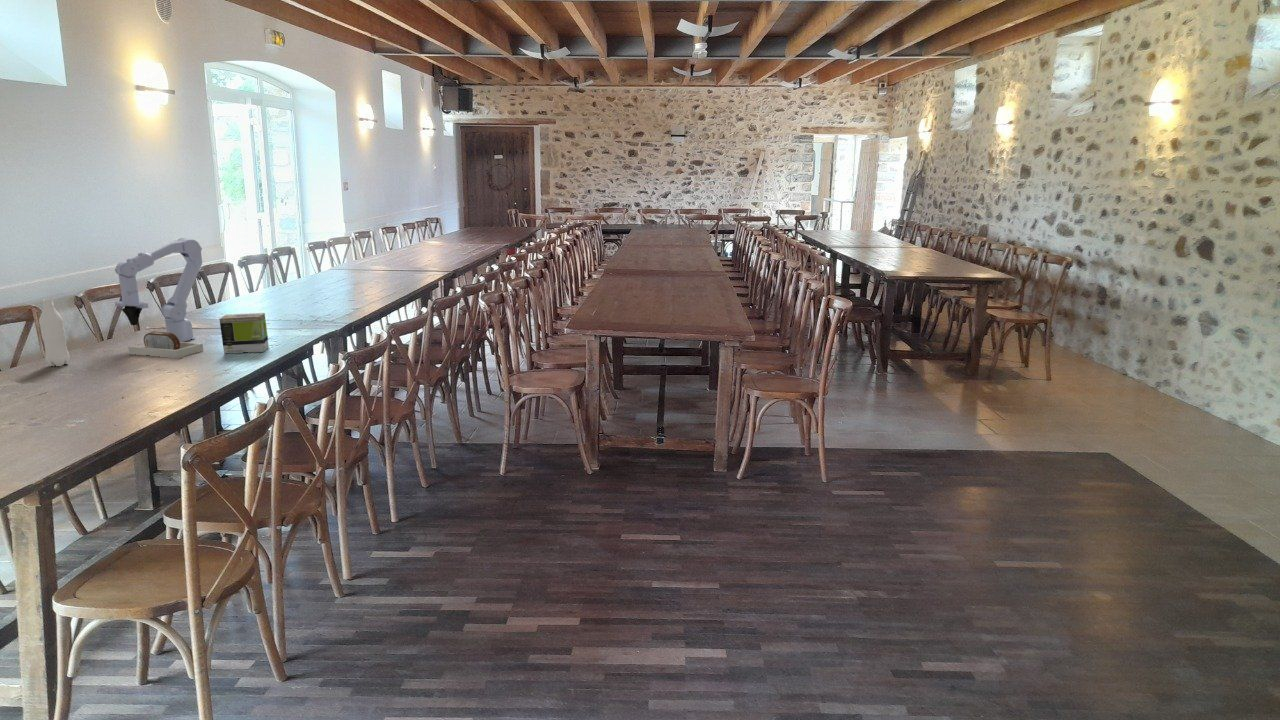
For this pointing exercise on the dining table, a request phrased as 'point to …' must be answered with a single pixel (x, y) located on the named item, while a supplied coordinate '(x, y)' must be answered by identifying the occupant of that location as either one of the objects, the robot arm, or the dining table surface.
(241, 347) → the tea box
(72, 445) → the dining table surface
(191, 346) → the box
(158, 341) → the tin
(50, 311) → the water bottle
